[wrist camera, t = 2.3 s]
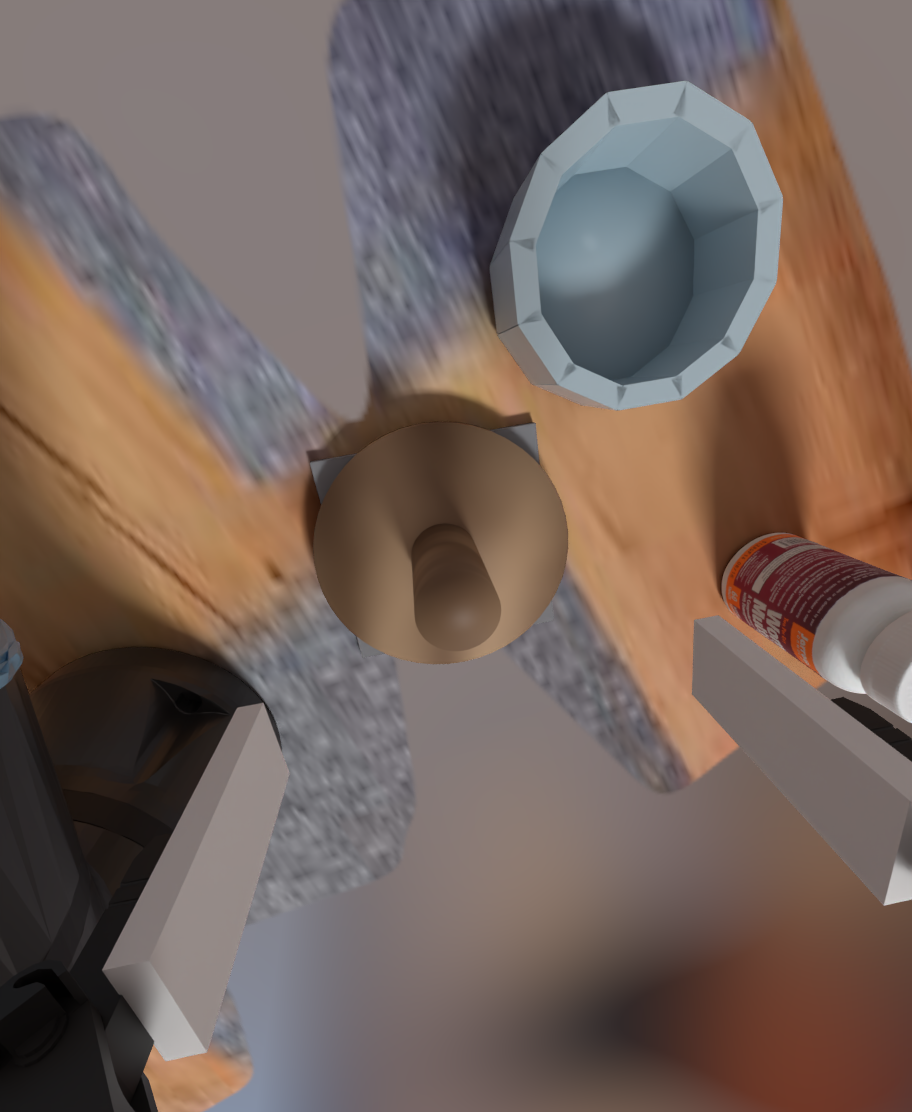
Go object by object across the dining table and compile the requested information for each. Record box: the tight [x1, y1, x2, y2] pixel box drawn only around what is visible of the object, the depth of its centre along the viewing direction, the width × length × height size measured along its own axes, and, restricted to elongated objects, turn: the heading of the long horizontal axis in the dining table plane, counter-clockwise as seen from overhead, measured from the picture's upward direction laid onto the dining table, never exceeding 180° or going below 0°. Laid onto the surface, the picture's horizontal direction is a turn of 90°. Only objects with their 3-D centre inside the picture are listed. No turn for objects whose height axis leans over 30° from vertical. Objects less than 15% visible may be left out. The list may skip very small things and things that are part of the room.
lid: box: [313, 422, 568, 664], centre depth 23 cm, size 14×14×8 cm
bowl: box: [489, 81, 783, 410], centre depth 21 cm, size 11×11×5 cm
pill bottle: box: [722, 533, 912, 723], centre depth 25 cm, size 6×6×11 cm
